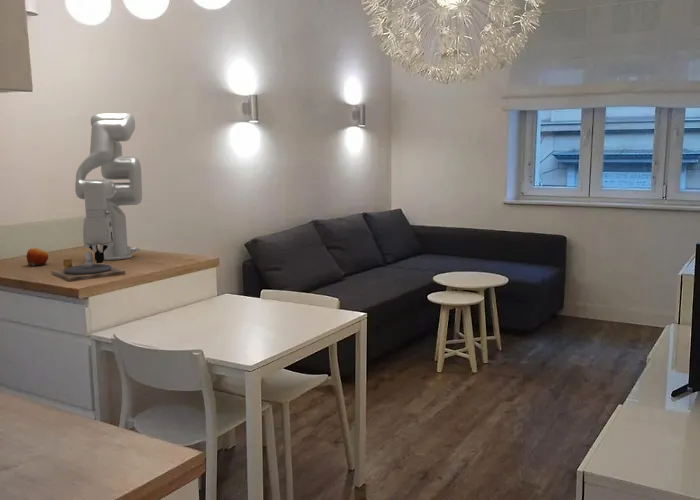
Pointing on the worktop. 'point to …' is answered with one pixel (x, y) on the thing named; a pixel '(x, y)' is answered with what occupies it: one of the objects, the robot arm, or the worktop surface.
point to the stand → (73, 277)
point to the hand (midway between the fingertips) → (99, 262)
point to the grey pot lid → (88, 267)
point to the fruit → (36, 257)
